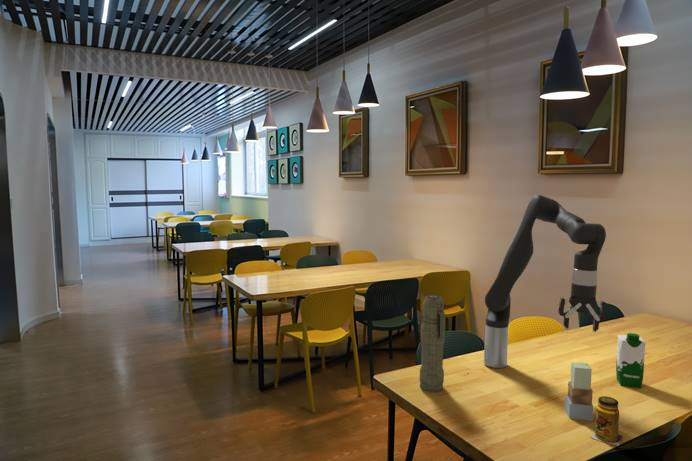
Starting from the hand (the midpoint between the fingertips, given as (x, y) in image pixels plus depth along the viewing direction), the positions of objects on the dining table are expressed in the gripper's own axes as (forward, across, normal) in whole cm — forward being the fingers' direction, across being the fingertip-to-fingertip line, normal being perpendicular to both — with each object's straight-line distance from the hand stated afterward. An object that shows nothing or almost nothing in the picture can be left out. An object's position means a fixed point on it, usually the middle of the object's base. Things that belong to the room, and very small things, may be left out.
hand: (580, 329), depth 157 cm
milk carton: (+27, +24, +28) cm, 46 cm away
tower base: (+28, 0, -6) cm, 28 cm away
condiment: (+27, +6, -18) cm, 34 cm away
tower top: (+22, 0, -6) cm, 23 cm away
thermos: (+29, -49, +1) cm, 57 cm away
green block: (+18, 0, -6) cm, 18 cm away
